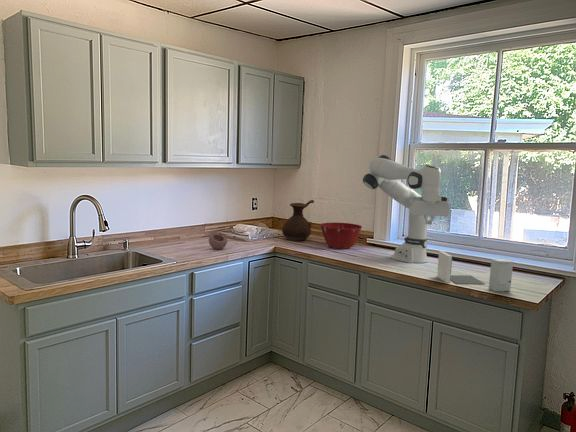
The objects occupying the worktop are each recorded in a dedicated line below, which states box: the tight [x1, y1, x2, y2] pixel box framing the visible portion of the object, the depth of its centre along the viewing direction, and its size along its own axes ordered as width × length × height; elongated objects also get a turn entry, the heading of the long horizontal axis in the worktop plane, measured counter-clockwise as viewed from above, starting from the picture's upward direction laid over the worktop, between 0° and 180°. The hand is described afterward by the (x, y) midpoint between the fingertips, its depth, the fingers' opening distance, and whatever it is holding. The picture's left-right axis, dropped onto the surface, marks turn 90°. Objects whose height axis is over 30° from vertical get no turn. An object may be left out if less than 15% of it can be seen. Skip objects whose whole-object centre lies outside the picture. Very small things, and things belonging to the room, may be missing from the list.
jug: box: [281, 199, 315, 242], centre depth 340 cm, size 22×22×30 cm
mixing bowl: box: [319, 222, 363, 250], centre depth 317 cm, size 28×28×16 cm
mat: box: [450, 274, 486, 285], centre depth 241 cm, size 15×16×1 cm
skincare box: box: [488, 258, 514, 292], centre depth 224 cm, size 8×6×15 cm
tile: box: [436, 250, 453, 284], centre depth 239 cm, size 2×12×14 cm, turn 3°
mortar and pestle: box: [208, 231, 228, 250], centre depth 299 cm, size 12×12×11 cm
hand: (428, 224), depth 236 cm, fingers closed
